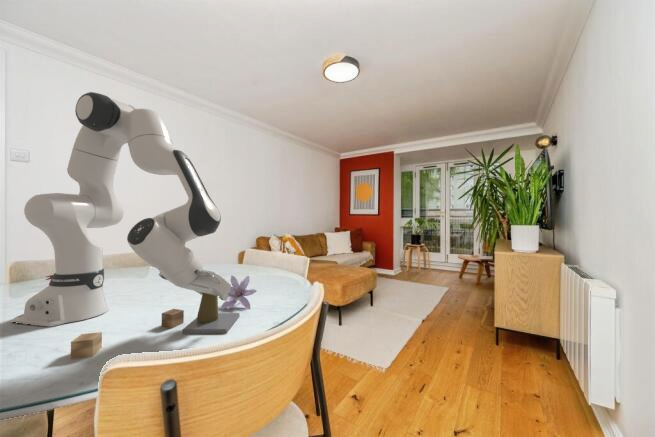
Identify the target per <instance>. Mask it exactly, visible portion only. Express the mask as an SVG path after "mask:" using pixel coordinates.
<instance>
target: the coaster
mask: <svg viewBox="0 0 655 437" xmlns="http://www.w3.org/2000/svg"><path fill="white" fill-rule="evenodd" d="M239 318H240V312H218V319H217V320H216V321H213V322H208V323H203V322H199V321H197V317H196V318H194V319H193V320H192V321H191V322H190V323H189V324H187V325H186V326H185V327H183V329H182V334H183V335H185V334H190V335H191V334H227V333H229V331H230V330H231V329H232V327H233V326H234V324H236V322H237V321H238V319H239Z"/></svg>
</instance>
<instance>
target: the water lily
mask: <svg viewBox="0 0 655 437" xmlns="http://www.w3.org/2000/svg"><path fill="white" fill-rule="evenodd" d="M249 283H250V275H246V276H245V278H244V279H243V280H241V281H240V282H239V280H238V279H237V278H236V276H235V275H231V276H230V284H231V289H230V291H229V292H228V295H229V297H228V299H227V300H226V301H224V302H223V303H222V304H221V306H220V310H225V309H227V310H229V309H230V308H232V307H233V306H235V305H236V304H237V302H239V304H240V305H241V306H242V307H244V308H245V309H246V310H251V304H250V301H249V299H248V298H247V297H248V296H252V295H254V294H255V293H256V292H257V290H256V289H253V288H251V289H247V287H248V286H249Z"/></svg>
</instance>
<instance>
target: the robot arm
mask: <svg viewBox="0 0 655 437" xmlns="http://www.w3.org/2000/svg"><path fill="white" fill-rule="evenodd" d="M74 112H75V116H76V118H77V121H78V122H79V123H80V124H81V125H82V126H81V128H80V129H79V131H78V133H77V136H76V138H75V141H74V143H73V147H72V149H71V153H70V156H69V160H68V165H67V168H66V171H67V174H68V176H69V177H70V178H71V179H72V180H74V181H75V182H77V184H78V186H79V193H78V194H76V193H74V194H73V193H64V192H63V193H62V192H53V193H51V192H50V193H43V194H42V193H41V194H36V195H33V196H32V197H31V198H28V201H27V202H26V203H25V205H24V208H23V212H24V216H25V219H26V221H27V222H28V223H29V224H31V226H34V227H35V228H38V230H40V231H42V233H44V234H45V235H46V236H47V238H48V239H49V241H50V242H51V245H52V247H53V250H54V252H53V253H54V267H55V268H54V273H53V274H51V275H48V276H47V275H46V276H45V281H47V280H48V281H49V283H48V286H46V287H45V288H43V289H41V291H39V292H37V293H36V294H34V295H33V296H32V297H30V298H29V299H27V301H26V302H25V304H24V308H23V309H24V311H23V314H20V315H17V316H16V317H14V318H13V319H11V323H12V322H17V323H23V324H22V325H27V324H31V325H30V326H38V325H39V327H55V326H59V325H63V324H67V323H73V322H79V321H83V320H88V319H91V318H94V317H97V316H100V315H103V314H105V313H106V312H108V311H109V307H108V304H107V300H106V297H105V291H104V282H105V281H104V280H105V269H104V268H103V256H104V254H103V249H104V248H103V246H102V245H101V244H100V243H99V242H97V241H95V240H94V239H93V240H92V239H91V237H90V236H89V234H88V230H87V229H103V228H107V227H111V226H114V225H117V224H119V223H120V222H121V221H122V220H123V217H124V212H125V211H124V207H123V205H122V204H121V202H120V201H119V200H118V199H117V197H116V195H115V192H114V178H115V174H116V169H117V165H118V162H119V158H120V153H121V149H122V147H123V146H124V145H126V144H127V145H128V150H129V154H130V158H131V159H132V161H133V163H134V164H135V165H136V167H137V168H139V169H141V170H142V171H144V172H146V173H149V174H153V175H158V176H170V175H171V176H177V177H178V178H179V180H180V183H181V185H182V187H183V190H184V191H185V193H186V195H187V197H188V200H187V202H186V203H184V204H182V205H180V206H178V207H175V208H172V209H169V210H166V211H165V212H162V213H159V214H157V215H155V216H154V217H147V218H144V219H142V220H140V221H138V222H137V223H136V224H134V225H133V226H132V227H131V229H130V230H129V232H128V234H127V236H126V240H127V243H128V244H129V247H130V248H131V249H132V250H133V252H134V253H135V254H136V255H137V256H139V257H140V258H141V259H142V260H143V261H144V262H145V263H146V264H147V265H149V266H150V267H153V268H154V269H157V270H158V271H159V273H158V276H159V277H160V278H162V279H164V280H166V281H168V282H170V283H172V284H173V285H174V286H176V287H178V288H180V289H186V290H189V291H193V292H196V293H198V295H200V296H202V295H203V294H202V292H203V293H207V294H211V295H216V296H217V297H218V298H219V300H221V301H224V302H225V301H227V299H228V298H230V297H229V295H228V292H229V291H230V289H231V287H232V284H231V282H229V281H228V280H227V279H225V278H224V277H223V276H222V275H220V274H219V273H217V272H216V271H211V270H206V269H204V266H205V264H204V262H203V260H202V259H201V258H200V257H199V256H198V255H197V254H196V253H195V252H194V251H193V250H191V248H188V247H186V243H187V242H190V241H192V240H195V239H197V238H199V237H204V236H208V235H211V234H215V232H216V231H217V229H218V228H219V226H220V224H221V221H222V216H221V213H220V211H219V209H218V207H217V205H216V204H215V202H214V201H213V200H212V199H211V197H210V195H209V193H208V190H207V189H206V187H205V185H204V183H203V181H202V179H201V177H200V175H199V173H198V172H197V170H196V168H195V165H194V164H193V162H192V161H191V159H190V158H189V156H188V155H187V154H185V152H183V151H182V150H179V149H176V147H175V145H174V142H173V139H172V137H171V136H172V135H171V134H170V131H169V129H168V127H167V124H166V123H165V121H164V119H163V117H162V116H161V115H160V114H159V113H157V111H154V110H152V109H149V108H138V107H135V106H132V105H131V104H126V103H124V102H121V101H119V100H116V99H114V98H111V97H109V96H108V95H105V94H102V93H98V92H92V91H90V92H87V93H84V94H82V95H81V96H80V97H79V98H78V100H77V101H76V105H75V111H74ZM17 323H16V324H17Z"/></svg>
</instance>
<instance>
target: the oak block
mask: <svg viewBox="0 0 655 437" xmlns="http://www.w3.org/2000/svg"><path fill="white" fill-rule="evenodd" d="M102 341H103V332H102V331H99V332H91V333H89V332H88V333H81V334H80V335H78V336H77V337H76V338H74V339H73V340H72V341H70V360H75V359H82V358H91V357H94V356H95V355H96V354H97V353H98V352H100V350H101V349H102V348H103V346H102V344H103V342H102Z"/></svg>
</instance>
